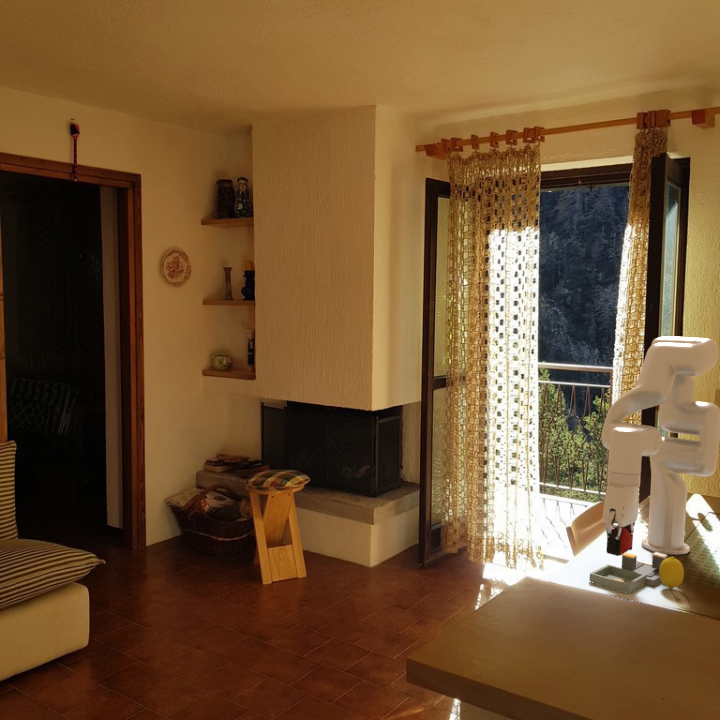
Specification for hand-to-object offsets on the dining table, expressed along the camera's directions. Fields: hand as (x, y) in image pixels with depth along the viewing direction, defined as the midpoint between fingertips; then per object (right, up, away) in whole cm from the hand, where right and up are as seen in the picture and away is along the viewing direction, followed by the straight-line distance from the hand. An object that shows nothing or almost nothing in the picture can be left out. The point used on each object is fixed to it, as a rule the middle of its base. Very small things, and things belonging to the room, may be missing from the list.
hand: (619, 550), depth 182 cm
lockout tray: (0, -8, +1) cm, 8 cm away
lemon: (+12, -9, -2) cm, 15 cm away
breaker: (+12, -6, +6) cm, 15 cm away
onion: (0, -1, 0) cm, 1 cm away
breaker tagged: (+4, -6, +5) cm, 9 cm away
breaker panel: (+9, -8, +6) cm, 13 cm away
